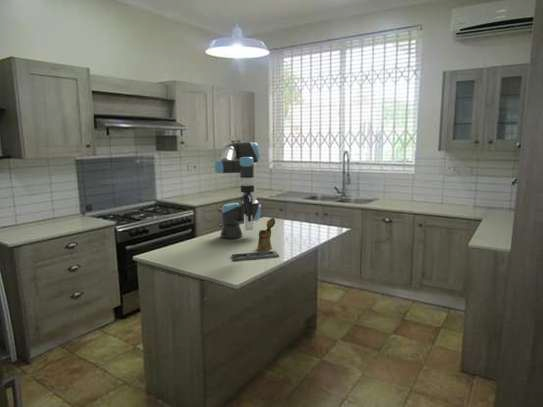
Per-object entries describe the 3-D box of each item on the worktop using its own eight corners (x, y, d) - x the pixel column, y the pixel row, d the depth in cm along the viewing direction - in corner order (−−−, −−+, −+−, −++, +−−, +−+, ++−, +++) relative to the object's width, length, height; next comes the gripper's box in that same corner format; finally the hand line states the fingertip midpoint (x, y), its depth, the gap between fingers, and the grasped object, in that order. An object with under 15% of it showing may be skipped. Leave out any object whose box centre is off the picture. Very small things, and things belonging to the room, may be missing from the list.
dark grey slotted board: (231, 256, 226) (231, 254, 225) (274, 252, 232) (274, 250, 232) (234, 261, 217) (233, 259, 217) (278, 256, 223) (278, 254, 223)
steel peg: (244, 229, 222) (243, 213, 221) (251, 228, 223) (250, 213, 222) (245, 230, 219) (245, 214, 217) (252, 230, 220) (252, 214, 218)
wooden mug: (279, 246, 244) (279, 218, 242) (265, 251, 234) (264, 222, 232) (268, 244, 250) (268, 216, 247) (254, 248, 240) (253, 220, 237)
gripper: (237, 183, 224) (238, 223, 228) (243, 187, 208) (245, 229, 211) (250, 182, 226) (251, 222, 230) (257, 186, 210) (258, 228, 214)
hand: (248, 225), depth 221 cm, fingers closed on steel peg, 4 cm apart
